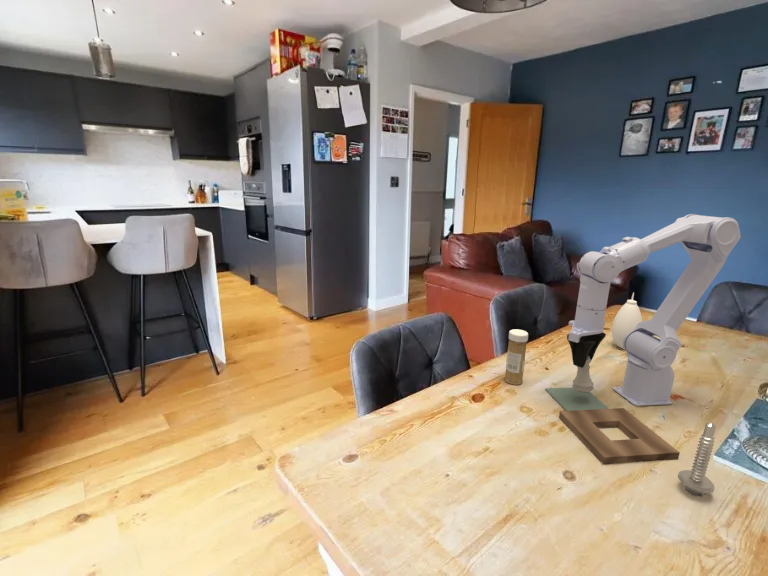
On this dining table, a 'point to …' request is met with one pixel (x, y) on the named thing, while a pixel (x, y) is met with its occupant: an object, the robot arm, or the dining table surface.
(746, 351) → the dining table surface
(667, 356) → the robot arm
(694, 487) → the screw
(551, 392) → the rubber mat
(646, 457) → the socket board
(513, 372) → the sprinkles bottle
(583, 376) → the rook chess piece
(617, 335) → the rubber bulb air blower
